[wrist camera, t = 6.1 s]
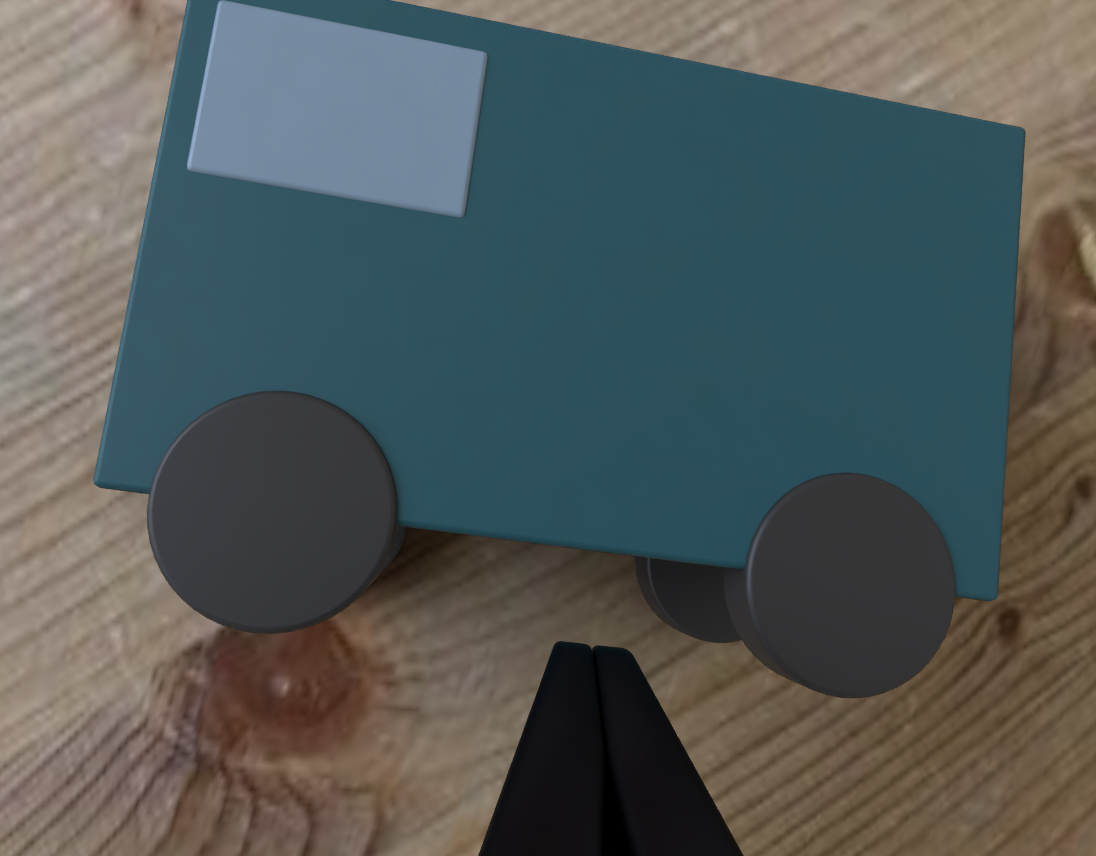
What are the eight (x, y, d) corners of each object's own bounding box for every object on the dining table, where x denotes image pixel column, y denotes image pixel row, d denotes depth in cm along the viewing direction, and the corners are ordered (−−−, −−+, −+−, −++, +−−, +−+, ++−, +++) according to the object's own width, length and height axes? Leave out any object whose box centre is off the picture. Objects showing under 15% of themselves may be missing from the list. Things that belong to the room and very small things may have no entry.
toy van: (800, 648, 17) (835, 253, 19) (998, 715, 11) (1033, 122, 12) (201, 577, 16) (275, 154, 17) (59, 612, 10) (190, -48, 11)
